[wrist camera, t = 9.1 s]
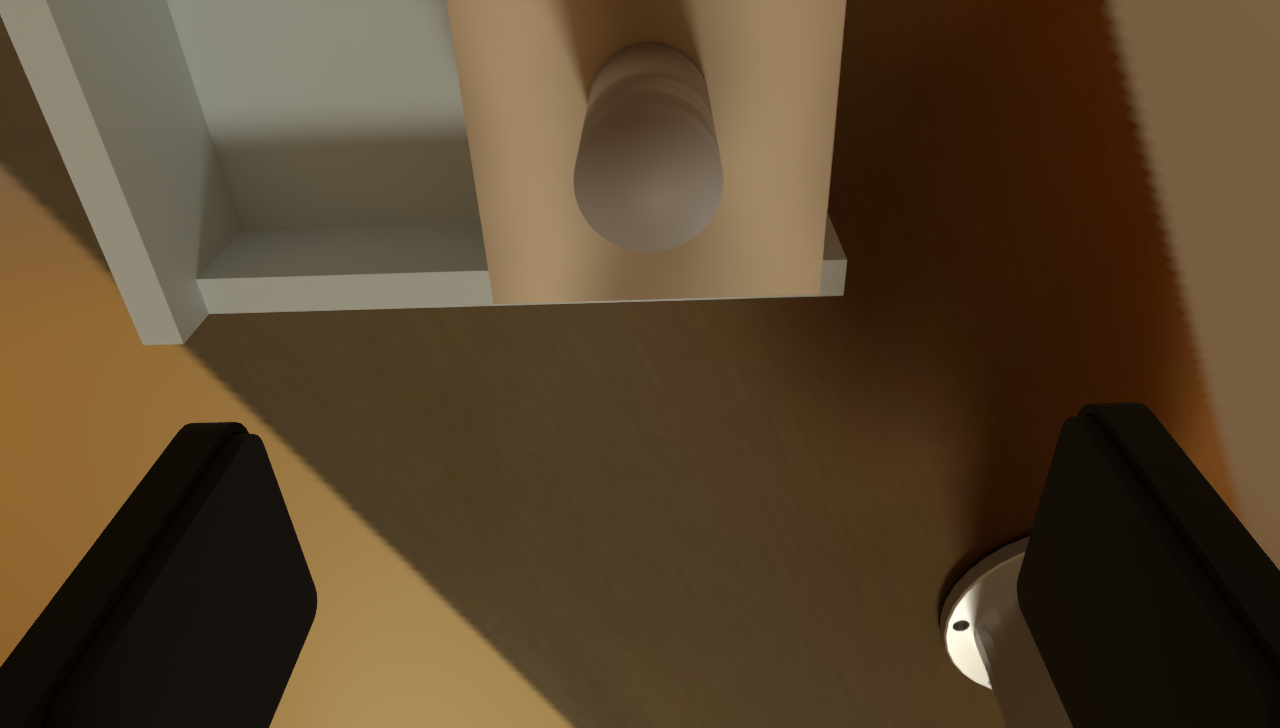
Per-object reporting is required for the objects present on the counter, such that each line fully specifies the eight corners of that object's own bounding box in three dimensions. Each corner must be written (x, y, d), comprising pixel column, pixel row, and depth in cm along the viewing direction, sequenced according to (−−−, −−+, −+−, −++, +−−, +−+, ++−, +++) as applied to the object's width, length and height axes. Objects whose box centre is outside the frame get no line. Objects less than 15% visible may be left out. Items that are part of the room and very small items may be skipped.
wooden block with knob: (812, -179, 25) (926, -155, 15) (788, 202, 32) (855, 404, 21) (475, -163, 25) (353, -129, 15) (522, 210, 32) (459, 414, 22)
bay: (862, -263, 25) (925, -278, 19) (820, 234, 34) (854, 325, 28) (65, -224, 26) (-105, -227, 20) (227, 252, 35) (143, 345, 29)
